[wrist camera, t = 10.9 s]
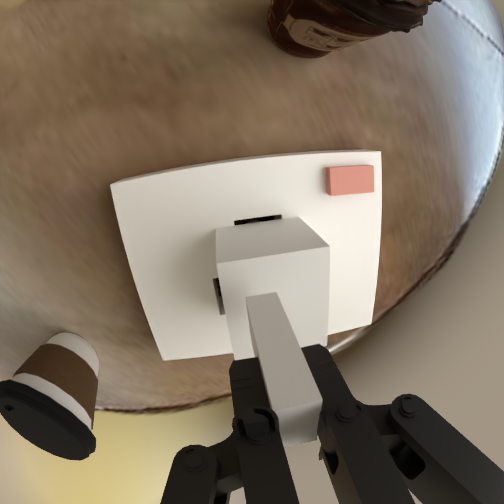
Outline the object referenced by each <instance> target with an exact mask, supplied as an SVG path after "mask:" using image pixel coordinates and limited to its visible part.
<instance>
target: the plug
mask: <svg viewBox="0 0 504 504" xmlns="http://www.w3.org/2000/svg"><path fill="white" fill-rule="evenodd" d="M216 266H217V272H218V277H219V283H220V288H221V293H222V299H223V304H224V309H225V314H226V319H227V324H228V329H229V334H230V339H231V344H232V349H233V354H234V358H235V360H241V359H247V358H253V357H255V355H254V351H253V346H252V342H251V336H250V328H249V321H248V314H247V307H246V299H245V297H248V296H255V295H261V294H267V293H273V292H277V294H278V297H279V299H280V301H281V304H282V306H283V308H284V310H285V313H286V315H287V317H288V320H289V322H290V324H291V327H292V329H293V331H294V334H295V336H296V338H297V341H298V343H299V345H300V348H301V347H306V346H310V345H315V344H321V345H322V346H327V333H328V314H329V287H330V246H329V245H328V244H327V243H326V242H325V241H324V240H323V239H322V238H321V237H320V236H319V235H318V234H317V233H316V232H315V231H314V230H313V229H311V228H310V227H309V226H308V225H307V224H306V223H305V222H304V221H303V220H302V219H301V218H300V217H293V218H285V219H278V220H270V221H263V222H261V221H260V220H258V219H252V220H250V221H249V222H248V223H247V224H242V225H235V226H228V227H221V228H216Z"/></svg>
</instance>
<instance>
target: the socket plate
mask: <svg viewBox="0 0 504 504" xmlns="http://www.w3.org/2000/svg"><path fill="white" fill-rule="evenodd" d="M110 187H111V192H112V197H113V201H114V206H115V210H116V215H117V219H118V223H119V227H120V231H121V235H122V239H123V243H124V247H125V251H126V254H127V258H128V261H129V265H130V268H131V271H132V275H133V278H134V281H135V284H136V288H137V291H138V294H139V297H140V300H141V303H142V306H143V309H144V311H145V314H146V317H147V320H148V323H149V325H150V328H151V331H152V333H153V336H154V339H155V341H156V344H157V346H158V349H159V351H160V354H161V356H162V359H163V361H164V360H175V359H186V358H195V357H204V356H212V355H220V354H228V353H233V349H232V344H231V339H230V334H229V329H228V324H227V319H226V314H225V309H224V304H223V299H222V296H219V294H218V289H217V283H216V278H219V277H218V272H217V266H216V228H221V227H228V226H235V225H234V221H236V220H243V219H250V218H257V217H264V216H272V215H274V217H275V220H278V219H285V218H293V217H300V218H301V219H302V220H303V221H304V222H305V223H306V224H307V225H308V226H309V227H310V228H311V229H313V230H314V231H315V232H316V233H317V234H318V235H319V236H320V237H321V238H322V239H323V240H324V241H325V242H326V243H327V244H328V245H329V246H330V287H329V314H328V333H327V335H330V334H334V333H338V332H342V331H346V330H350V329H354V328H358V327H362V326H365V325H369V324H371V321H372V315H373V308H374V300H375V292H376V283H377V274H378V263H379V250H380V234H381V206H382V172H381V152H380V151H372V150H363V149H358V150H327V151H309V152H295V153H283V154H272V155H262V156H253V157H244V158H236V159H229V160H221V161H214V162H208V163H201V164H195V165H189V166H183V167H178V168H172V169H167V170H162V171H157V172H152V173H147V174H142V175H138V176H133V177H129V178H125V179H122V180H119V181H117V182H115V183H113V184H110Z"/></svg>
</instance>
